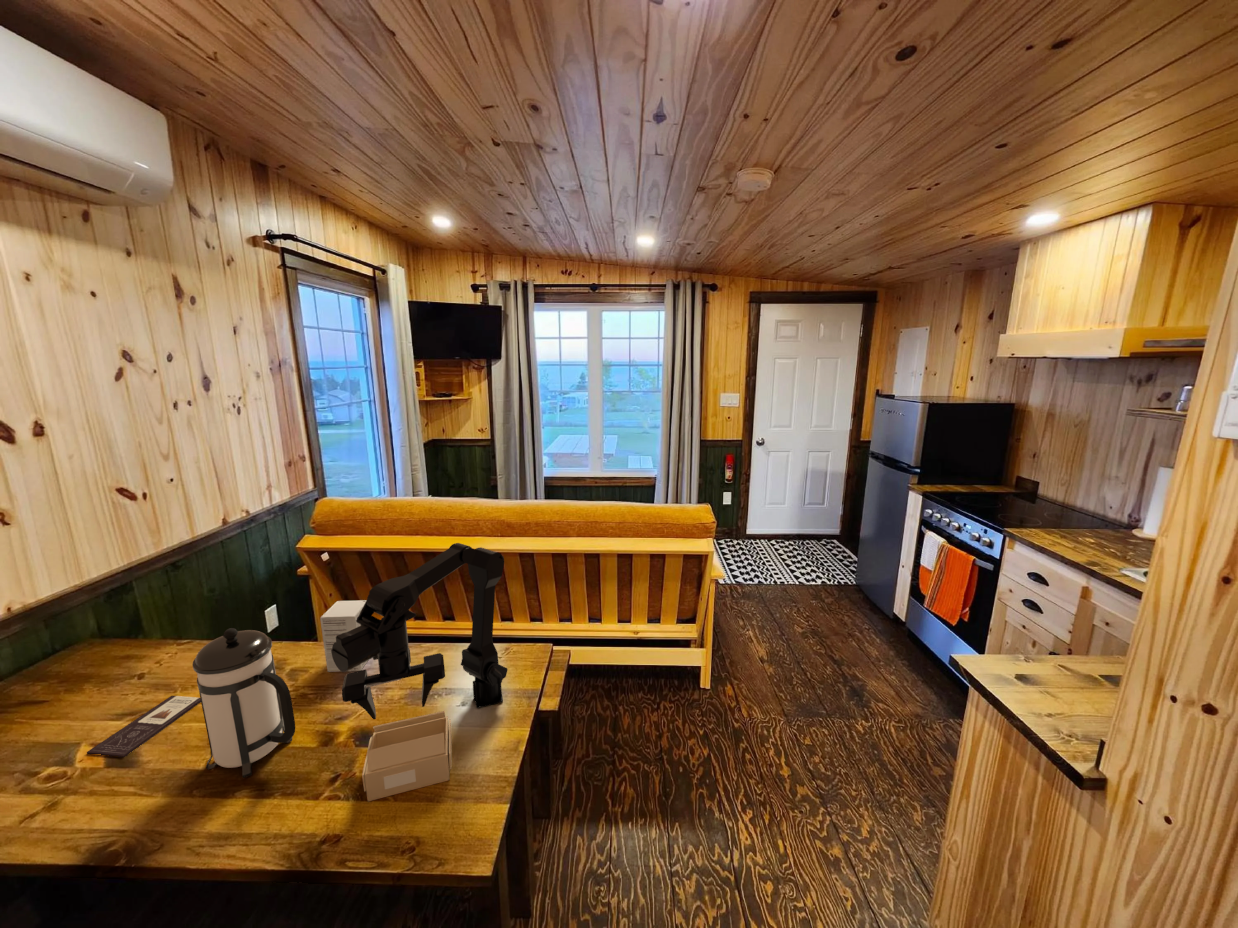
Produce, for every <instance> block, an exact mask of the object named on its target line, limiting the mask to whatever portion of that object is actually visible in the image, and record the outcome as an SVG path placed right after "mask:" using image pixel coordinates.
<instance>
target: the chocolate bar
mask: <svg viewBox="0 0 1238 928" xmlns="http://www.w3.org/2000/svg"><path fill="white" fill-rule="evenodd" d="M200 703H201V699H200V697H195V696H181V695H170V696H169V697H167V698H166V699H164V700H162V701H161V702H160V703H158V704H157V705H156V706H153V707H152V708H151V709H149V710H148V711H147V712H146V711H145V712H144V713H143V714H142V715H140V716H139V717H137V718H136V719H134V720H132V721H131V722H129V723H128V724H127V725H126V726H124V727H122V728H121V729H119V730H117V732H114V734H111V735H110V736H109V737H107V738H105V739H104V740H103V741H101V742H100V743H98V744H97V745H95V746H93V747H92V748H91V749H89V750H88V751H86V754H87V755H91V754H101V755H100V756H102V755H109V756H108V757H112V756H118V757H117V758H123V757H125V756H126V757H128V756H129V755H130V754H131V753H133V752H134V751H135V750H134V749H136V748H137V747H138V748H140V747H141V746H143V745H144V744H145V743H147V742H148V741H149V740H151V739H152V738H154V737H155V736H156V735H158V734H159V733H160V732H162V731H163V730H165V729H167V727H169V726H171V725H172V724H173V723H175V722H176V721H177V720H179V719H180V718H181V717H183V716H184V715H186V714H188V712H190V711H191V710H192V709H194V708H195V707H196V706H198V705H199V704H200ZM142 744H143V745H142ZM140 745H141V746H140ZM139 746H140V747H139ZM138 748H137V749H138ZM137 749H136V750H137ZM133 750H134V751H133ZM132 751H133V752H132ZM130 752H131V753H130ZM129 753H130V754H129ZM128 754H129V755H128ZM126 757H125V758H126Z"/></svg>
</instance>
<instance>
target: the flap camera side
mask: <svg viewBox="0 0 1238 928" xmlns="http://www.w3.org/2000/svg"><path fill="white" fill-rule="evenodd" d="M367 751H368V771H372V770H377V769H381V768H385V767H389V766H393V765H397V764H401V763H405V762H409V761H413V760H417V759H421V758H426V757H430V756H434V755H438V754H442V753H445V746H444V733H441V734H436V735H432V736H428V737H423V738H419V739H415V740H410V741H406V742H402V743H398V744H393V745H389V746H385V747H380V748H376V749H372V750H368V749H367Z"/></svg>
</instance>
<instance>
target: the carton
mask: <svg viewBox="0 0 1238 928" xmlns="http://www.w3.org/2000/svg"><path fill="white" fill-rule="evenodd" d="M441 733H444V746H445V753H442V754H438V755H434V756H430V757H426V758H421V759H417V760H413V761H409V762H405V763H401V764H397V765H393V766H389V767H385V768H381V769H377V770H372V771H368V750H372V749H376V748H380V747H385V746H389V745H393V744H398V743H402V742H406V741H410V740H415V739H419V738H423V737H428V736H432V735H436V734H441ZM452 736H453V735H452V722H451V719H449V716H446V715H445V718H441V719H436V720H432V721H427V722H423V723H418V724H414V725H409V726H405V727H400V728H396V729H391V730H387V731H382V732H378V733H375V731H374V732H373V735H372V736H370V737H369V738H370V739H369V741H368V747H367V752H366V756H365V760H364V765H363V768H362V776H361V777H362V784H363V791H364V792H365V793H366V797H367V802H371V801H375V800H379V799H382V798H386V797H389V796H393V795H397V794H401V793H402V794H403V793H405V792H409V791H412V790H417V789H421V788H424V787H428V786H432V785H436V784H438V783H439V784H440V783H443V782H447V781H450V770H452V768H453V767H452V765H453V764H452V762H453V761H452V757H453V755H452V754H453V753H452V749H453V747H452V746H453V744H452V742H453V741H452Z"/></svg>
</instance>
